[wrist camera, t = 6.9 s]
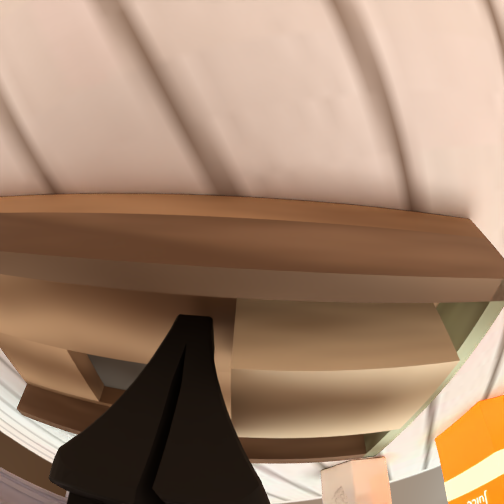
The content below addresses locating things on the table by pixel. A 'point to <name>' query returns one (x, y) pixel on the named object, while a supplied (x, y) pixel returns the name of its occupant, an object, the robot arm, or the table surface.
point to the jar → (357, 482)
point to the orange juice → (475, 455)
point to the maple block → (334, 366)
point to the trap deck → (214, 289)
